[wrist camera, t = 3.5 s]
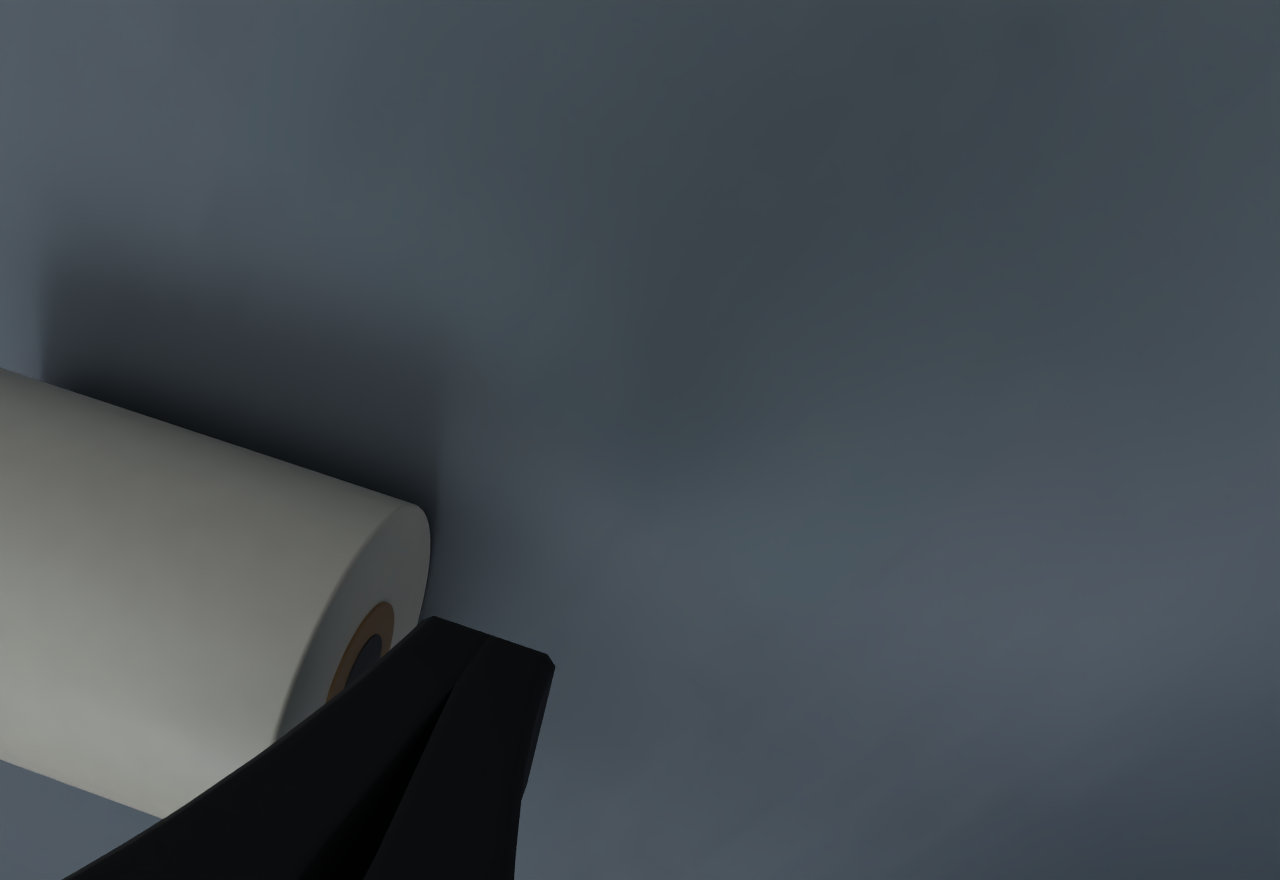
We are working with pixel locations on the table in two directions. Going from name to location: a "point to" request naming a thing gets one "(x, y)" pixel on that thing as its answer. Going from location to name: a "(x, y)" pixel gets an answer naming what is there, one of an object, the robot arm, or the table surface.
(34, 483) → the paper roll
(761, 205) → the table surface
